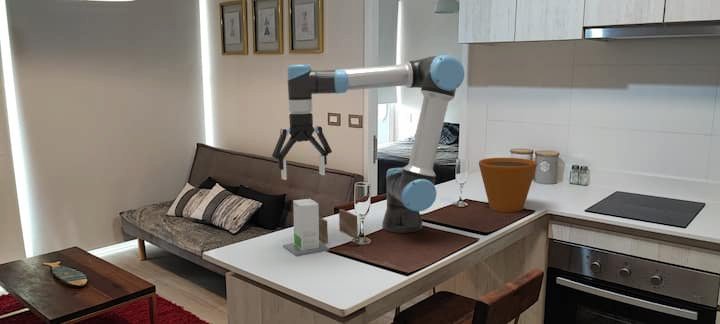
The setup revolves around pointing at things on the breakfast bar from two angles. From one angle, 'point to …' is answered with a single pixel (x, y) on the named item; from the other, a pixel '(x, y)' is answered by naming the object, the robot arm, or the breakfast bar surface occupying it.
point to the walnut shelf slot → (340, 225)
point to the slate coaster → (298, 252)
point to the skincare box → (306, 224)
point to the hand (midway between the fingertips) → (303, 177)
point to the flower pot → (507, 182)
